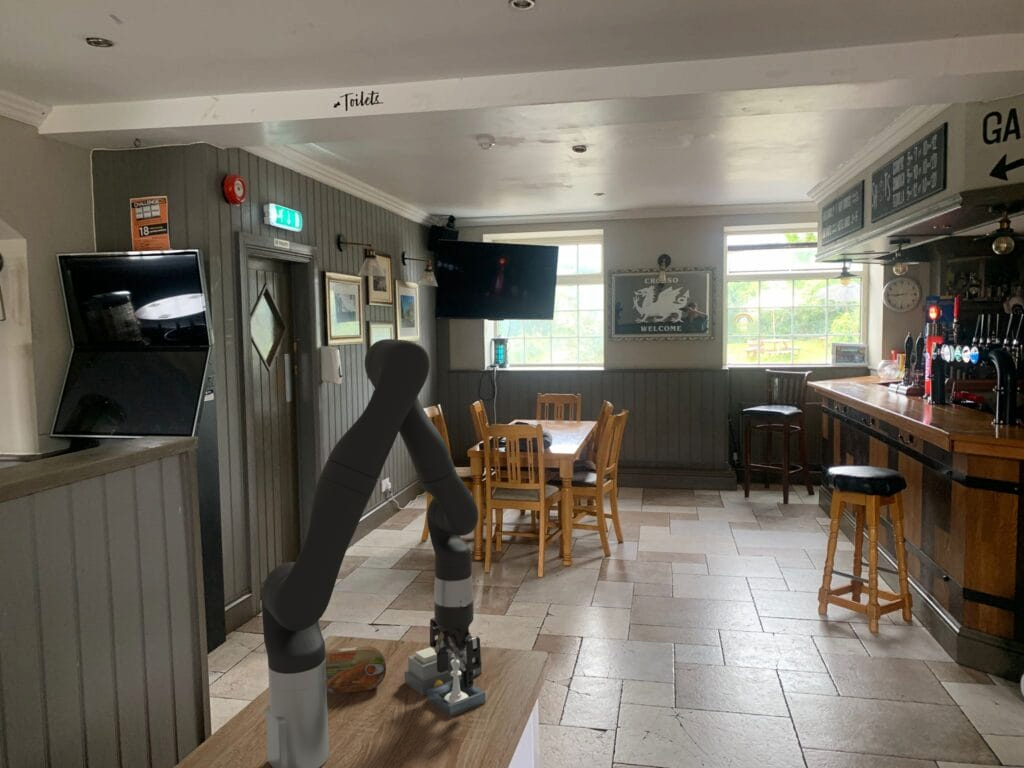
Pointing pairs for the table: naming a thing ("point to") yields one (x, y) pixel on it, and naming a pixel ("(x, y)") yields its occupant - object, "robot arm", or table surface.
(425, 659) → the white square block
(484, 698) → the frame
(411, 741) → the table surface
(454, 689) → the chess piece
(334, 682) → the tin
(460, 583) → the robot arm
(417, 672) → the yellow-knobbed grey box
